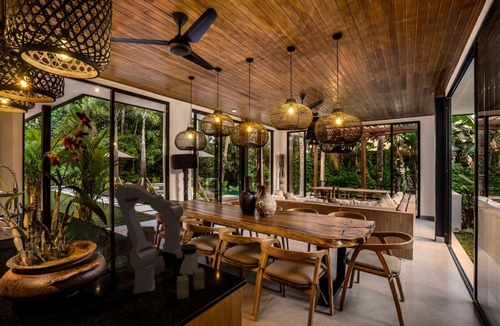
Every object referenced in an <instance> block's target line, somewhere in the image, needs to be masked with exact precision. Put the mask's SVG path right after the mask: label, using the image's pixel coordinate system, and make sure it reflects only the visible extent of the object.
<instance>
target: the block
mask: <svg viewBox="0 0 500 326" xmlns="http://www.w3.org/2000/svg"><path fill="white" fill-rule="evenodd" d="M141 227H142V229H143V232H144V235H145V238H146V240H147V241H148V242H151V243H153V246H154V247H155V248H156V245H155V244H156V243H155V242H156V241H155V240H156V236H155V235H156V234H155V233H156V227H155V226H154V225H153V226H152V225H141ZM132 248H133V244H132V241H131V238H130V235H129V232H128V230H127V232H126V273H127V274H128V273H129V274H135V269H133V267H132V266H131V263H130V255H129V252H130V251H131V249H132ZM142 251H143V250H142ZM139 252H141V251H139Z"/></svg>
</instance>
